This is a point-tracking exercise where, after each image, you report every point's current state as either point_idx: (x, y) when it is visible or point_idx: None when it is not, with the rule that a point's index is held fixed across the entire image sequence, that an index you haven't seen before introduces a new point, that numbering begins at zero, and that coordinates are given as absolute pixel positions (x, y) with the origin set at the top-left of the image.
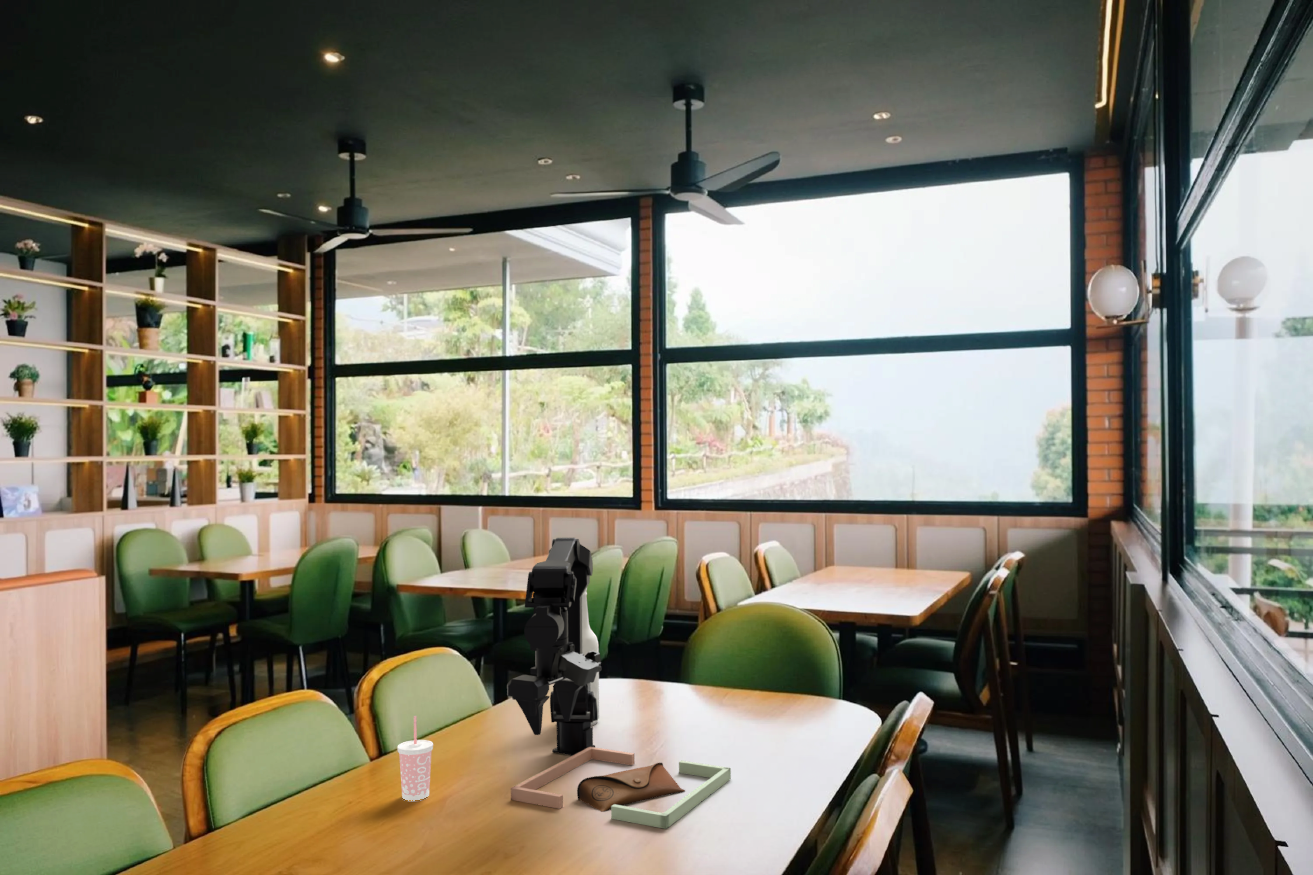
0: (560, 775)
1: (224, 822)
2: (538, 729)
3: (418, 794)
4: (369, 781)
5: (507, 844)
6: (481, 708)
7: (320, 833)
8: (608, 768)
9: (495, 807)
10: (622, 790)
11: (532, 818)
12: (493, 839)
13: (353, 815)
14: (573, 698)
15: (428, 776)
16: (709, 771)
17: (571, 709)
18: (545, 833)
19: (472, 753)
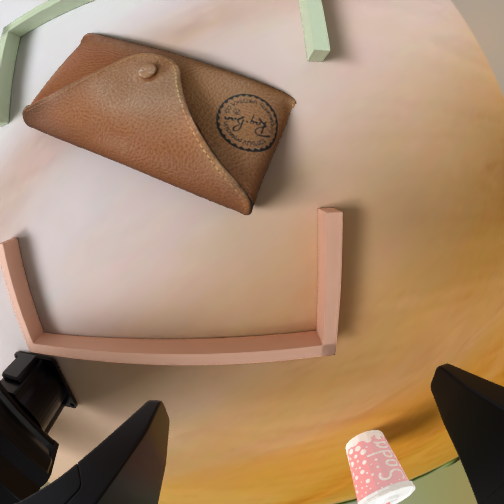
0: (146, 339)
1: (449, 463)
2: (469, 374)
3: (382, 436)
4: (329, 490)
5: (491, 196)
6: None
7: None
8: (51, 271)
9: (376, 333)
10: (205, 83)
11: (402, 228)
12: (485, 230)
13: (433, 431)
14: (96, 496)
15: (373, 455)
16: (8, 58)
17: (130, 442)
18: (446, 157)
19: (170, 479)
